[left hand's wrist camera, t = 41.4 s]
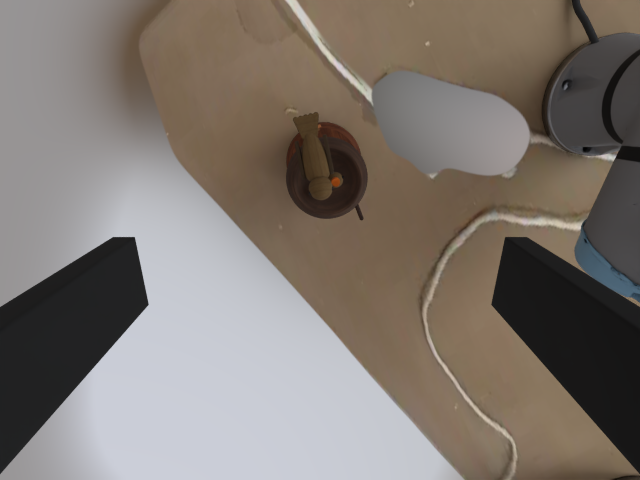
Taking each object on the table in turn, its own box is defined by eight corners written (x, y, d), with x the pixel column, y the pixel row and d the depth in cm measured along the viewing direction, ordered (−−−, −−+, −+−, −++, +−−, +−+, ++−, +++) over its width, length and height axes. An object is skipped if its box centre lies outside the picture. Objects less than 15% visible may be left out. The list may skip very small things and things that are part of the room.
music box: (265, 139, 50) (247, 146, 31) (330, 97, 49) (353, 78, 30) (319, 225, 54) (332, 277, 35) (379, 188, 53) (427, 222, 34)
